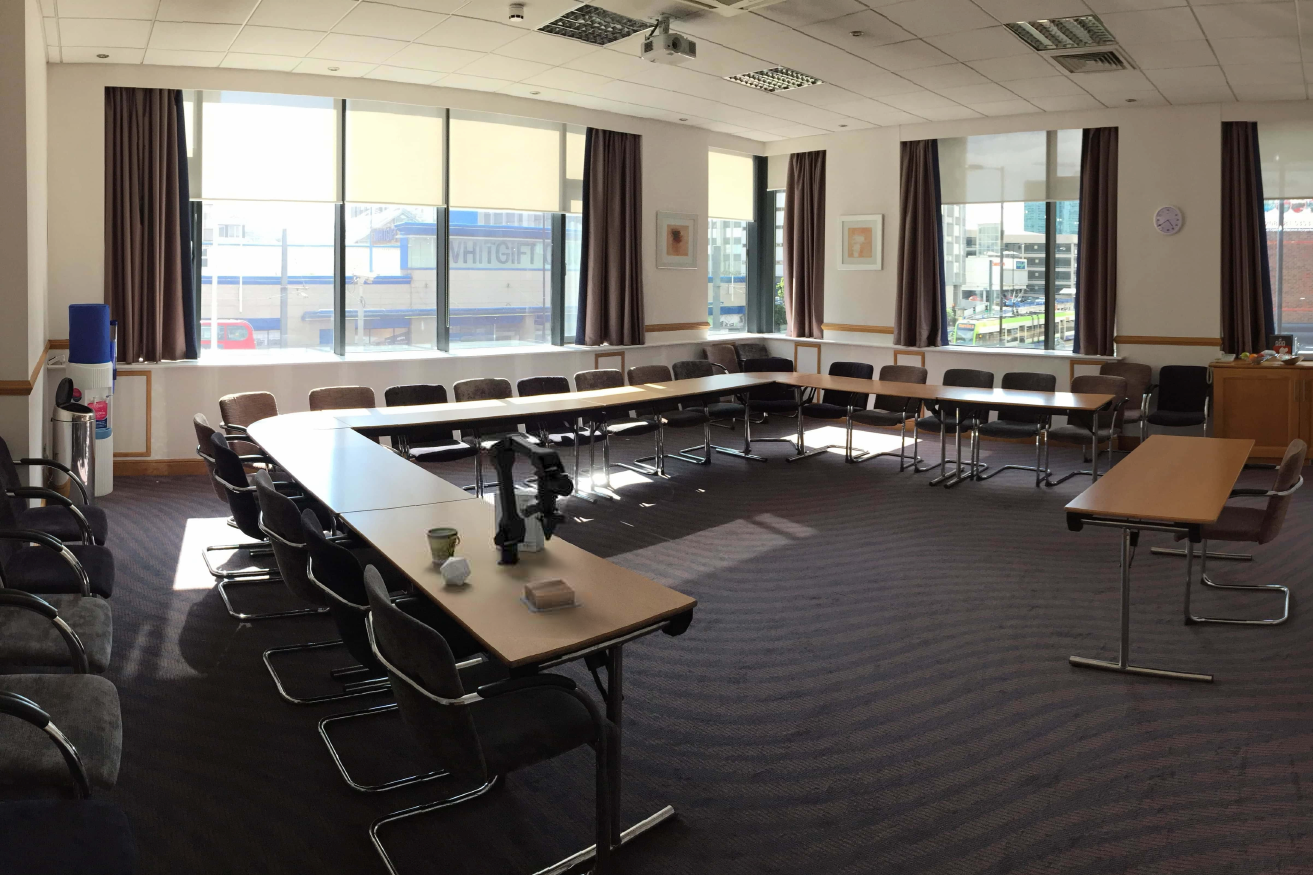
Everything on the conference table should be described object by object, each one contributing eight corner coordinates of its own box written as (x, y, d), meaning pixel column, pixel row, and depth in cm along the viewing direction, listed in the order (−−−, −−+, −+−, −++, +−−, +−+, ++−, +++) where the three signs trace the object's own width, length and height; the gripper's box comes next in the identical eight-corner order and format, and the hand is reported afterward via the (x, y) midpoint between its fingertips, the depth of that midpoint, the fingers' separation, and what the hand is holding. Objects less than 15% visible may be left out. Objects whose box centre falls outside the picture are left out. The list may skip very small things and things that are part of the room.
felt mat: (520, 599, 272) (520, 598, 271) (566, 592, 277) (566, 591, 277) (532, 612, 261) (532, 611, 261) (580, 605, 267) (580, 604, 267)
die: (475, 582, 289) (464, 554, 292) (471, 576, 281) (460, 548, 283) (450, 593, 287) (439, 565, 290) (445, 588, 279) (434, 559, 282)
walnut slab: (524, 583, 272) (537, 596, 261) (560, 578, 277) (574, 590, 266) (524, 596, 273) (537, 609, 262) (560, 591, 277) (574, 604, 266)
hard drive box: (545, 546, 326) (544, 490, 322) (536, 552, 318) (535, 495, 315) (504, 543, 330) (503, 488, 327) (494, 548, 323) (493, 492, 319)
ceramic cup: (421, 561, 308) (420, 531, 306) (444, 554, 316) (443, 525, 315) (448, 568, 301) (447, 538, 299) (471, 560, 309) (470, 531, 307)
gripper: (512, 487, 292) (513, 535, 294) (530, 500, 275) (531, 551, 278) (546, 484, 297) (547, 532, 299) (566, 496, 280) (567, 546, 282)
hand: (547, 540), depth 289 cm, fingers closed
